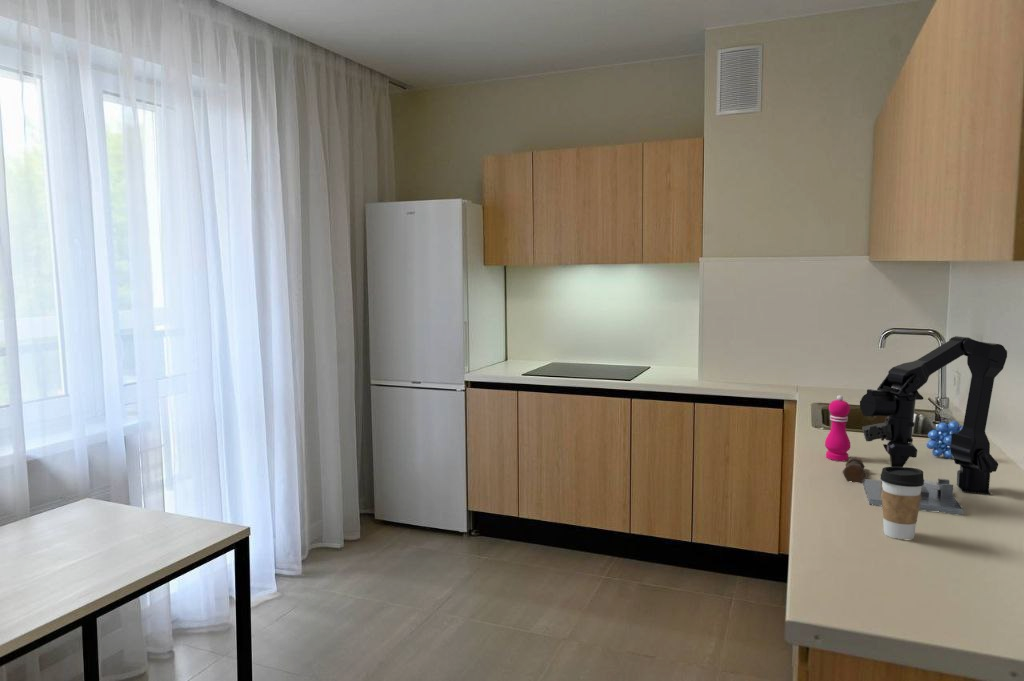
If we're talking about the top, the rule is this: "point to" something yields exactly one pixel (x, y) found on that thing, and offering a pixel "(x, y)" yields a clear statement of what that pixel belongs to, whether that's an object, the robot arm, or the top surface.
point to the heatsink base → (929, 496)
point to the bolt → (854, 470)
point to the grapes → (942, 438)
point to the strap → (932, 484)
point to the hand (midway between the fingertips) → (894, 474)
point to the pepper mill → (838, 431)
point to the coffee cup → (901, 500)
